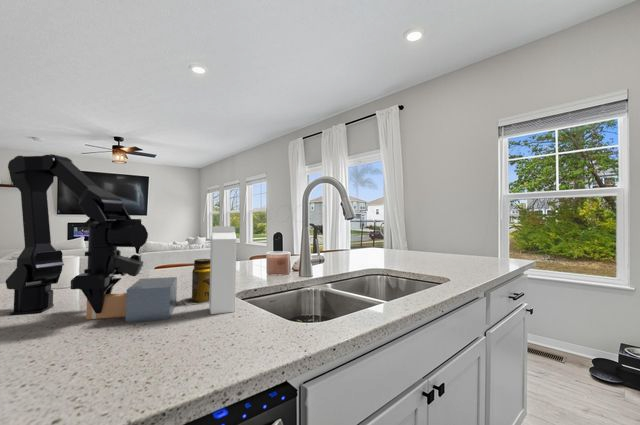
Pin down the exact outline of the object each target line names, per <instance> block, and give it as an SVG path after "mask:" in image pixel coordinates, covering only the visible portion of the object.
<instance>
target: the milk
mask: <svg viewBox="0 0 640 425" xmlns="http://www.w3.org/2000/svg"><path fill="white" fill-rule="evenodd" d="M209 256H210V257H209V259H210V300H209V306H208V307H209V308H208V309H209V311H210V315H218V314H219V315H220V314H227V313H234V312H236V289H237V288H236V286H237V282H236V281H237V280H236V279H237V278H236V277H237V235H236V227H235V226H232V225H231V226H227V225H226V226H225V225H223V226H221V225H219V226H212V227H211V236H210V254H209Z"/></svg>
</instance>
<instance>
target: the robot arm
mask: <svg viewBox="0 0 640 425" xmlns="http://www.w3.org/2000/svg"><path fill="white" fill-rule="evenodd" d="M7 170H8V173H9V177H10V181H11V182H12V183H13V185H14V186H15V187H16V188H17V189H18V190H19V191H20V200H21V201H20V202H21V213H22V226H23V239H24V241H23V242H24V248H23V249H22V251H21V253H20V254H19V255H18V257H17V258H16V268H15V269H14V271H12V273H10V275H9V276H8V278H6V280H5V286H6V289H7V290H13V291H14V292H13V310H12V311H11V310H10V311H9V313H8V314H9V315H21V314H22V315H23V314H34V313H43V312H45V311H46V310H48V309H50V308H52V307H54V290H53V289H52V285H55V284H58V283H59V280H60V277H61V274H62V272H63V267H64V266H65V264H64V261H63V252H62V250H61V249H56V248H54V245H52V241H51V240H52V237H51V227H50V226H51V225H50V215H49V213H50V212H49V202H48V190H49V189H50V187H51V186H52V184H53V183H54V181H55V180H54V179H55V177H56V178H57V179H58V180H59V181H60V182H62V183H63V185H65V187H66V188H67V189H69V190H70V191H71V193H73V194H74V195H75V196H76V197H77V199H78V200H79V201H78V206H79V208H80V209H81V210H82V212H83V213H84V215H85V216H86V217H87V218H88V219H87V220H86V221H85V222H83V223H82V224H81V228H84V229H85V228H86V229H88V244H87V251H85V252H84V257H87V268H85V269H84V270H83V272H84V273H79V274H78V275H75V276H74V277H72V279H71V280H70V290H81V292H82V293H83V295H84V296H85V298H86V300H87V299H88V301H89V303H90V304H91V306H92V308H93V310H94V311H95V313H96V314H97V313H101V312H102V308H103V304H104V299H105V294H112V292H113V289H114V287H115V285H116V284H118V282H120V281H121V280H122V277H123V276H125V275H128V276H131V277H137V275H139V274H140V272H141V270H142V267H143V266H144V261H143V260H141V259H142V258H141V255H138V254H133V255H131V256H130V257H128V256H123V255H121V250H120V249H118V248H141V247H143V246H144V245H145V244H146V243H147V241H148V238H149V233H148V231H147V228H146V227H145V225H143V223H142V219H141V218H132V217H131V216H130V214H129V213H128V211H127V209H126V208H125V206H124V202H123V200H122V199H121V198H120V197H118V196H117V195H115V194H113V193H112V192H110V191H108V190H105V189H104V188H101V187H99V186H98V185H97V184H96V183H94V182H93V180H92V179H90V178H89V177H88V176H87V175H86V174H85V173H84V172H83V171H81V169H80V168H78V166H76V165H75V164H74V163H73V161H72V159H71V158H69V157H67V156H63V155H58V154H44V155H28V156H27V155H26V156H24V155H17V156H15V157H13V158H12V159H11V160H9V162H8V164H7ZM117 275H120V276H121V277H118V278H116V276H117Z"/></svg>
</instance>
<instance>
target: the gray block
mask: <svg viewBox="0 0 640 425" xmlns="http://www.w3.org/2000/svg"><path fill="white" fill-rule="evenodd" d="M177 284H178V277H177V276H173V277H172V276H171V277H153V278H151V277H149V278H140V279H139V280H137V281H136V282H134V283H133V284H132V285H131V286H129V287H128V288H127V289H126V293H127V294H126V316H125V324H127V323H129V324H130V323H139V322H149V321H153V322H154V321H160V320H161V321H163V320H171V319H170V318H171V317H172V314H173V313H174V310H175V308H176V305H177V295H178V294H177V292H178V291H177V290H178V286H177Z"/></svg>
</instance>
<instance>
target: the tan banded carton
mask: <svg viewBox="0 0 640 425" xmlns="http://www.w3.org/2000/svg"><path fill="white" fill-rule="evenodd" d="M126 294H127V292H122V293H120V292H119V293H111V294H105V299H104V304H103V308H102V312H101V313H97V314H96V313H95V311H94V310H93V308H92V306H91V304H90V303H89V301H88V299H87V298H86V315H85V316H86V317H85V318H86V320H95V319H108V318H109V319H110V318H120V317H126Z"/></svg>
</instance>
